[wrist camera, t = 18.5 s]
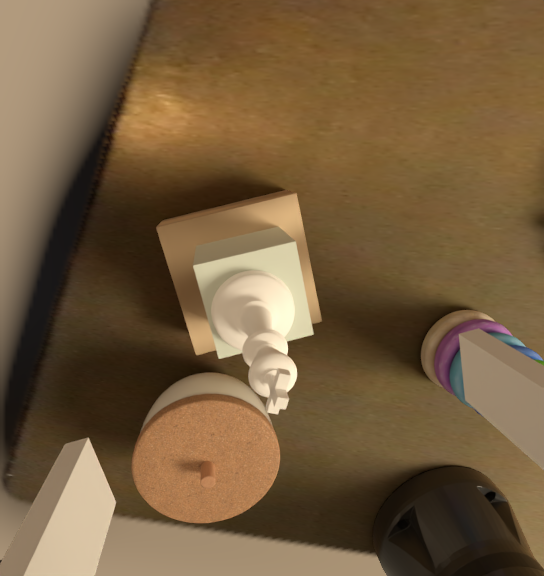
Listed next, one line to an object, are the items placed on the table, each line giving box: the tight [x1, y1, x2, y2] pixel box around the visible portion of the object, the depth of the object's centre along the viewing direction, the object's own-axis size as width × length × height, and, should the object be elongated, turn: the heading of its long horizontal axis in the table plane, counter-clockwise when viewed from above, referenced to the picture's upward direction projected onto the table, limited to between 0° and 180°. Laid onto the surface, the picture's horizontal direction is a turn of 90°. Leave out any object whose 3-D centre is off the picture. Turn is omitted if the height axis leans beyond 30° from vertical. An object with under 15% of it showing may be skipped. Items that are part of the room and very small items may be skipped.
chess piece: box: [211, 270, 297, 414], centre depth 19 cm, size 5×5×10 cm
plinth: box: [156, 190, 322, 355], centre depth 32 cm, size 10×10×4 cm
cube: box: [193, 226, 314, 359], centre depth 27 cm, size 6×6×6 cm
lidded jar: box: [132, 372, 280, 523], centre depth 32 cm, size 11×11×9 cm
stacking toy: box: [421, 310, 544, 416], centre depth 30 cm, size 8×8×19 cm
